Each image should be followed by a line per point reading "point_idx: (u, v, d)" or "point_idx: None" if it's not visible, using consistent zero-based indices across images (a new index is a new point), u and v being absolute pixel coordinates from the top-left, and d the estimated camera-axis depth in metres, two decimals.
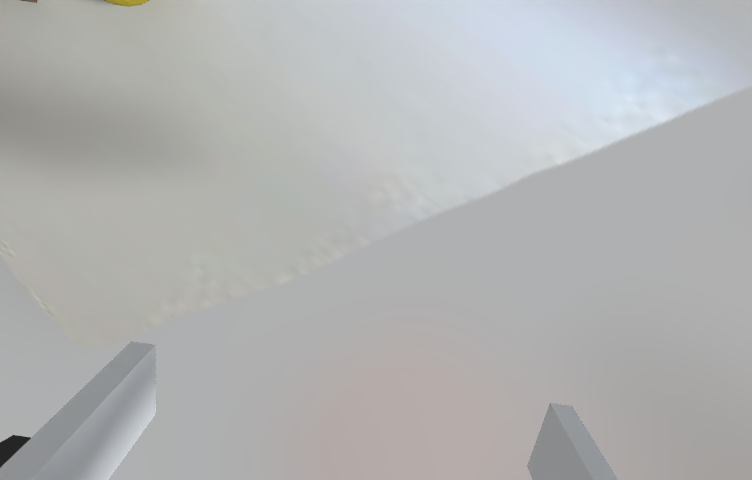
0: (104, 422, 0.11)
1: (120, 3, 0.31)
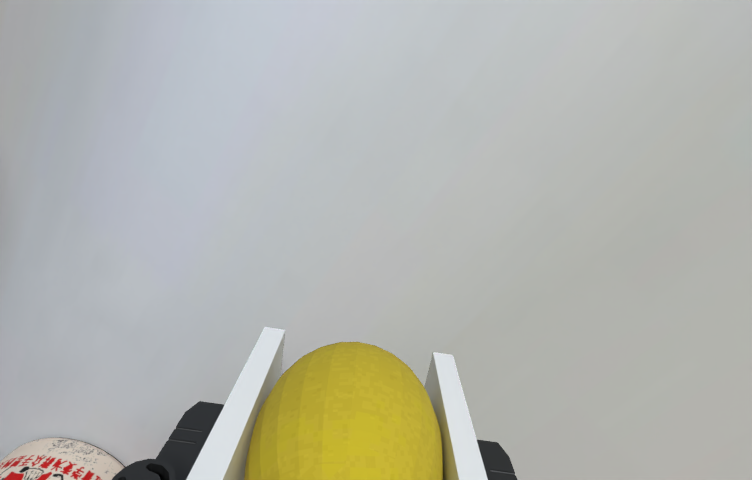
0: (264, 392, 0.13)
1: (442, 458, 0.12)
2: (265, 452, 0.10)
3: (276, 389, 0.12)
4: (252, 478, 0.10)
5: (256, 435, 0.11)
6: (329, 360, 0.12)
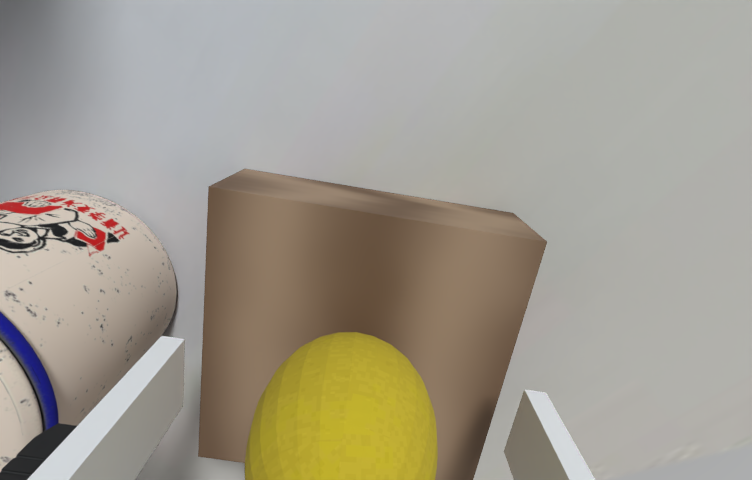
0: (141, 411, 0.11)
1: None
2: (265, 432, 0.10)
3: (276, 375, 0.12)
4: (252, 457, 0.10)
5: (257, 418, 0.11)
6: (327, 347, 0.12)
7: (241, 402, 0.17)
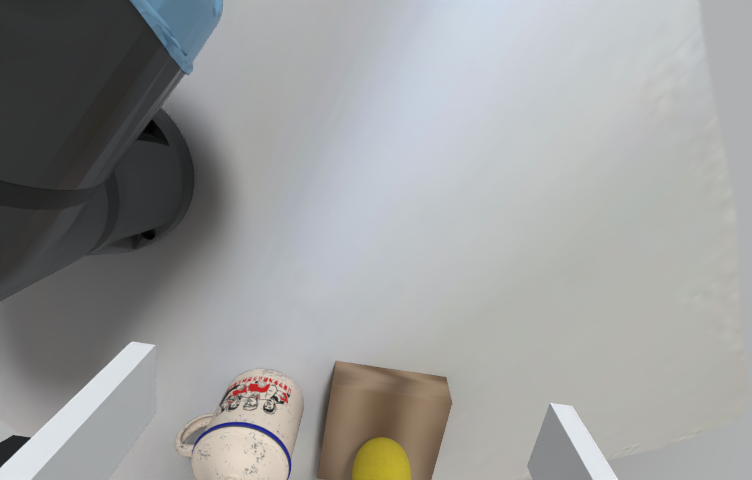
0: (104, 422, 0.11)
1: None
2: (361, 476, 0.37)
3: (360, 456, 0.39)
4: None
5: (356, 471, 0.38)
6: (376, 447, 0.39)
7: (336, 457, 0.44)
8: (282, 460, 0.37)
